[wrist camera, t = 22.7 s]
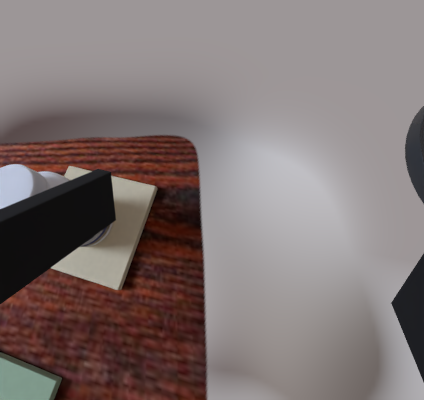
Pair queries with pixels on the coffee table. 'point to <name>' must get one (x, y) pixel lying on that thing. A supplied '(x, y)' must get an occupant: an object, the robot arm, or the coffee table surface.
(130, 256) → the cream mat
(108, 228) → the pill bottle
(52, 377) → the sage mat
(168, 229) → the coffee table surface
